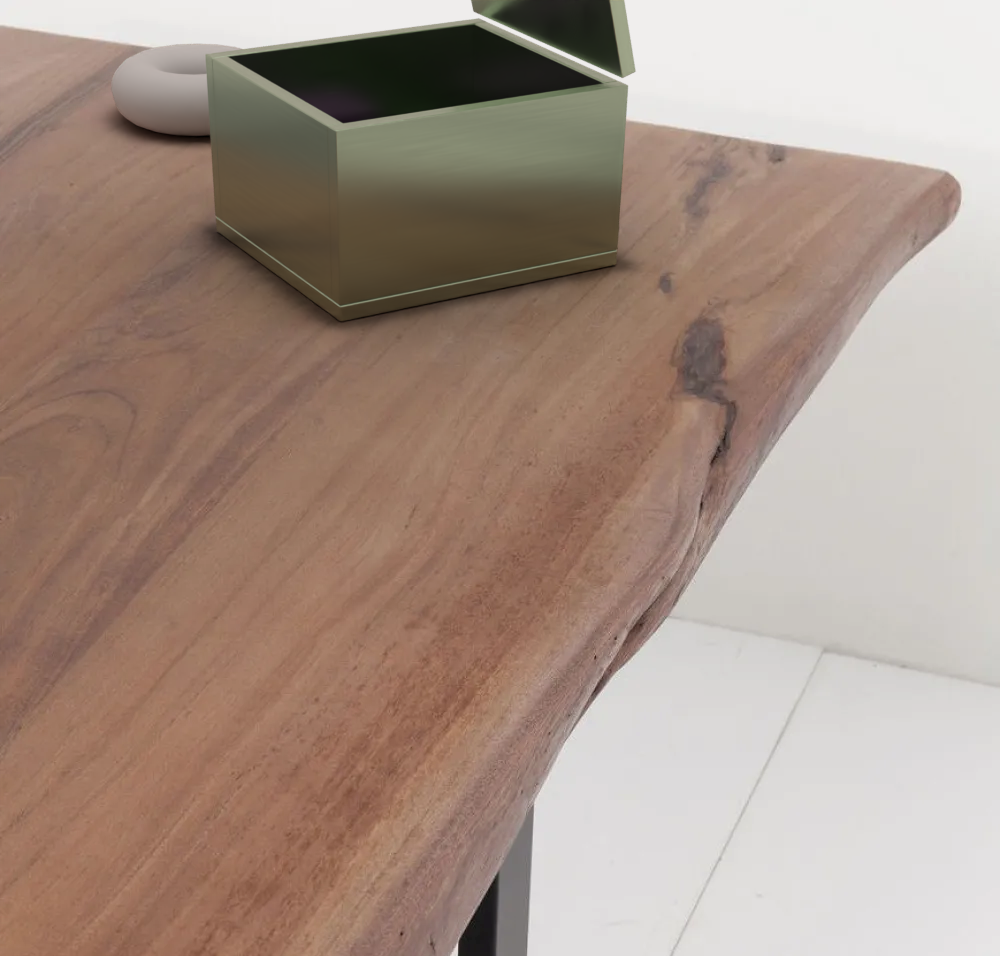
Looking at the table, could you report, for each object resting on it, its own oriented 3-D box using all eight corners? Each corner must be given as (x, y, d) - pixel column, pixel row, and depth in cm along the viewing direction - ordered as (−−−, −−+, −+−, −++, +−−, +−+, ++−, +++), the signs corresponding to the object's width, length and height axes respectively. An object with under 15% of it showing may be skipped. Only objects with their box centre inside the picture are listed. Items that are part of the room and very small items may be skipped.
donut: (95, 104, 114) (139, 150, 107) (89, 45, 112) (133, 87, 105) (253, 89, 117) (306, 132, 110) (250, 31, 116) (304, 71, 108)
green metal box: (340, 322, 87) (335, 130, 82) (215, 231, 97) (204, 53, 91) (617, 265, 94) (628, 85, 89) (475, 185, 103) (479, 18, 98)
